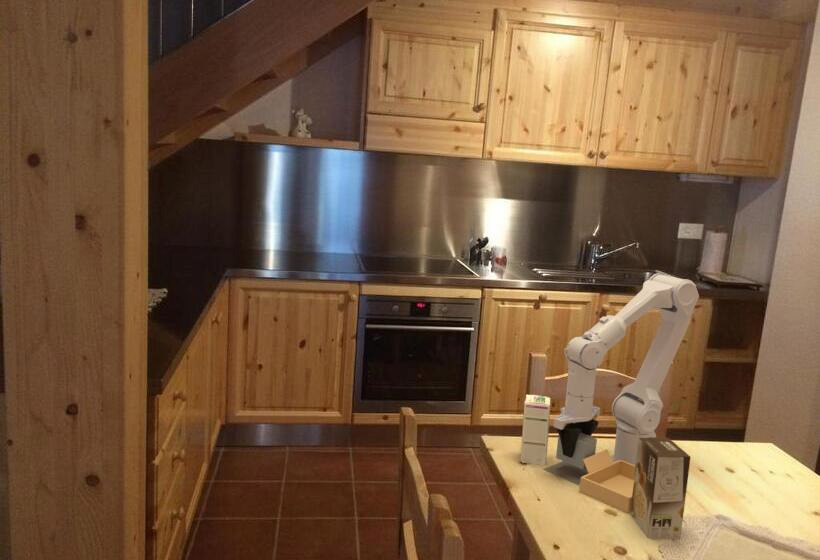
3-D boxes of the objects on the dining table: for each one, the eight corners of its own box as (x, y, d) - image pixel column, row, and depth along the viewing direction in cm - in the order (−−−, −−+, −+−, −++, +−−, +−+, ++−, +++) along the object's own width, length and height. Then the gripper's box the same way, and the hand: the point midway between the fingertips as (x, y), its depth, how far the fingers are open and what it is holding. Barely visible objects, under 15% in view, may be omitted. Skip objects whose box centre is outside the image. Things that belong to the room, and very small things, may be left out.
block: (566, 453, 152) (569, 427, 151) (593, 465, 147) (597, 437, 146) (555, 457, 149) (558, 430, 148) (583, 469, 144) (586, 441, 143)
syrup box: (546, 466, 151) (551, 404, 149) (519, 463, 153) (524, 401, 150) (546, 456, 157) (551, 396, 155) (520, 453, 158) (525, 393, 156)
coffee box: (682, 541, 123) (692, 457, 120) (648, 540, 122) (658, 456, 120) (659, 515, 132) (669, 437, 130) (627, 515, 131) (636, 436, 129)
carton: (610, 471, 151) (613, 445, 150) (673, 497, 140) (677, 469, 139) (571, 490, 141) (574, 462, 140) (636, 518, 130) (639, 489, 129)
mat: (566, 461, 155) (567, 459, 155) (601, 475, 149) (601, 473, 149) (542, 471, 149) (542, 469, 149) (577, 486, 143) (577, 484, 143)
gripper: (583, 382, 154) (577, 440, 156) (544, 394, 144) (538, 454, 146) (610, 391, 149) (604, 450, 151) (572, 403, 139) (566, 466, 141)
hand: (573, 453), depth 148 cm, fingers closed on block, 4 cm apart
